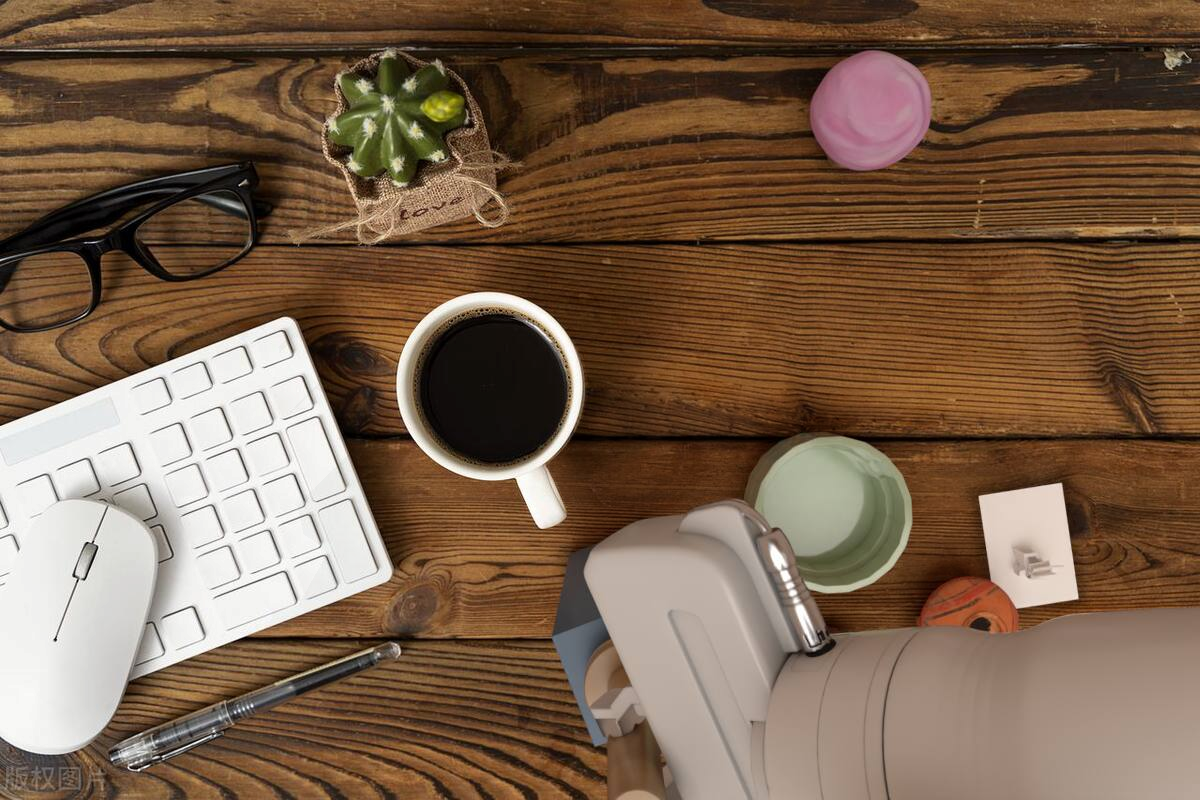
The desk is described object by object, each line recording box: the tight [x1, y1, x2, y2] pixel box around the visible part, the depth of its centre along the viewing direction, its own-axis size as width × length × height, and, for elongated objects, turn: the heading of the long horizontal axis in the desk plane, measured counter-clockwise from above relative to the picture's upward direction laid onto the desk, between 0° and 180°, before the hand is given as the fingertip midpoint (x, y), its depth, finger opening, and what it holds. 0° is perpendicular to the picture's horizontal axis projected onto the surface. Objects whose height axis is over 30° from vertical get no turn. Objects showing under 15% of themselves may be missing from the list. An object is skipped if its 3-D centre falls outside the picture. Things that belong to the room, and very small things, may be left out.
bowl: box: [743, 431, 913, 594], centre depth 69 cm, size 12×12×6 cm
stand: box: [551, 542, 611, 748], centre depth 61 cm, size 7×7×23 cm
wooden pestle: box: [584, 639, 667, 800], centre depth 41 cm, size 5×5×16 cm
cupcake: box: [809, 49, 932, 172], centre depth 67 cm, size 9×9×10 cm
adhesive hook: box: [1012, 547, 1065, 581], centre depth 71 cm, size 3×3×3 cm
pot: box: [915, 576, 1020, 633], centre depth 70 cm, size 8×8×7 cm
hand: (621, 749), depth 40 cm, fingers closed on wooden pestle, 2 cm apart
